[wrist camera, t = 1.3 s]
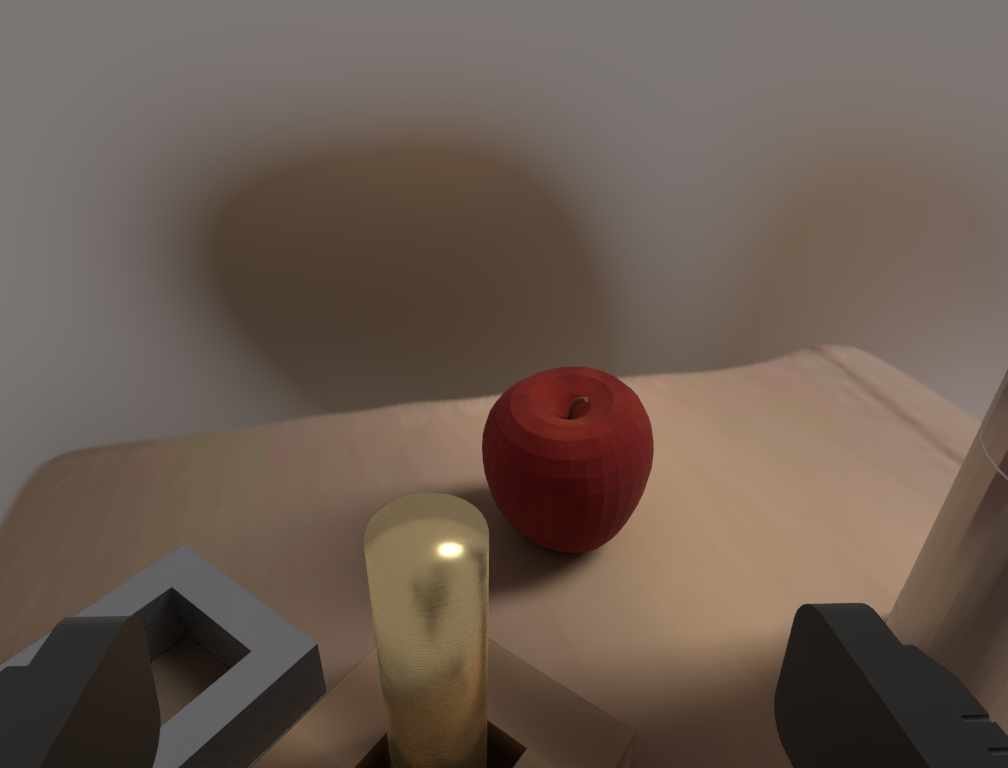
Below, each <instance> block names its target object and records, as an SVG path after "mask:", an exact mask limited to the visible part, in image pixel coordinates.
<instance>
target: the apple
mask: <svg viewBox="0 0 1008 768" xmlns="http://www.w3.org/2000/svg"><path fill="white" fill-rule="evenodd" d="M653 452H654V451H653V435H652V427H651V423H650V420H649V417H648V415H647V413H646V411H645V409H644V407H643V405H642V403H641V401H640V399H639V398H638V396H637V395H636V393H635V392H634V391H633V390H632V389H631V388H630V387H628V386H627V385H626V384H624V383H623V382H621V381H620V380H618V379H617V378H616V377H614V376H612V375H610V374H608V373H606V372H604V371H600V370H597V369H592V368H586V367H561V368H555V369H550V370H546V371H543V372H539V373H537V374H535V375H532V376H530V377H528V378H525V379H523V380H521V381H519V382H517V383H516V384H514V385H512V386H511V387H510V388H509V389H508V390H507V391H506V392H504V393H503V395H502V396H501V397H500V398H499V399H498V400H497V401H496V403H495V404H494V406H493V407H492V409H491V411H490V413H489V416H488V418H487V421H486V424H485V428H484V432H483V442H482V454H483V464H484V471H485V475H486V479H487V482H488V485H489V488H490V491H491V493H492V496H493V498H494V500H495V502H496V504H497V506H498V508H499V509H500V511H501V512H502V514H503V515H504V516H505V518H506V519H507V520H508V522H509V523H510V524H511V525H512V526H513V527H514V528H515V529H516V530H517V531H518V532H519V533H521V534H522V535H523V536H524V537H526V538H527V539H529V540H530V541H532V542H533V543H535V544H538V545H540V546H542V547H544V548H547V549H550V550H553V551H558V552H564V553H581V552H587V551H590V550H594V549H596V548H598V547H600V546H602V545H603V544H605V543H606V542H608V541H609V540H611V539H612V538H613V537H614V536H615V535H616V534H617V533H618V532H619V531H620V530H621V529H622V527H623V526H624V525H625V524H626V522H627V521H628V519H629V518H630V516H631V515H632V513H633V511H634V510H635V508H636V507H637V505H638V503H639V501H640V499H641V497H642V495H643V493H644V490H645V487H646V484H647V481H648V477H649V474H650V471H651V468H652V460H653Z"/></svg>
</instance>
